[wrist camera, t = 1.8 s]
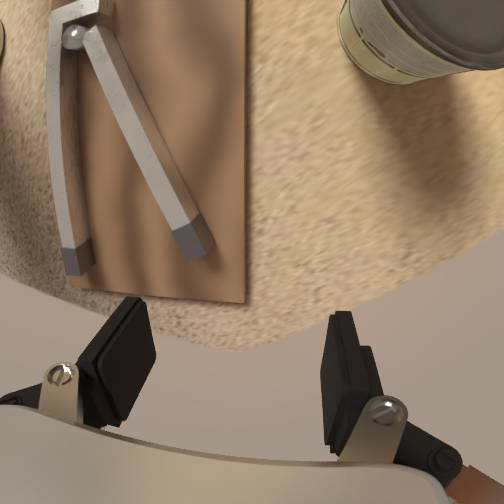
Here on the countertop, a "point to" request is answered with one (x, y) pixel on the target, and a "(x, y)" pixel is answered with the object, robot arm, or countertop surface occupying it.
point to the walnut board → (169, 149)
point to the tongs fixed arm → (69, 132)
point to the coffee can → (422, 37)
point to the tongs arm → (143, 138)
